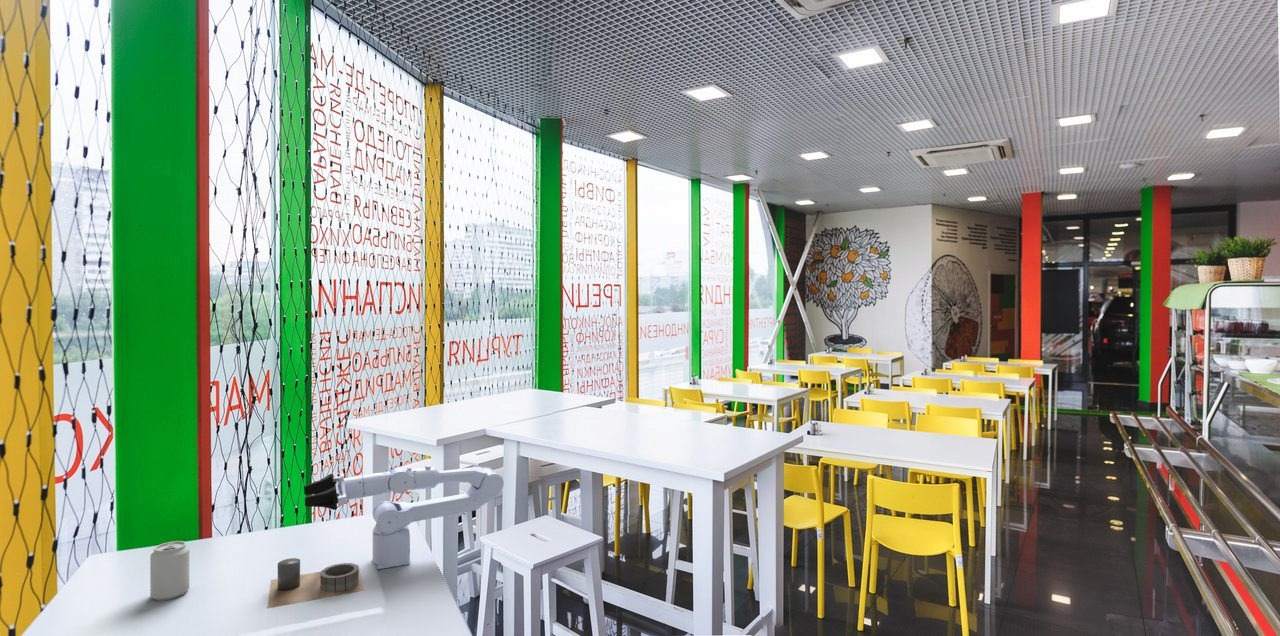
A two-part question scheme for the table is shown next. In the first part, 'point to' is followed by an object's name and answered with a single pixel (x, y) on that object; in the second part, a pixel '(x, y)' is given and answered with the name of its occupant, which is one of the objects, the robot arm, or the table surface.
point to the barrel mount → (319, 585)
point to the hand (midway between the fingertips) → (304, 496)
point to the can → (169, 570)
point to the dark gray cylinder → (288, 574)
